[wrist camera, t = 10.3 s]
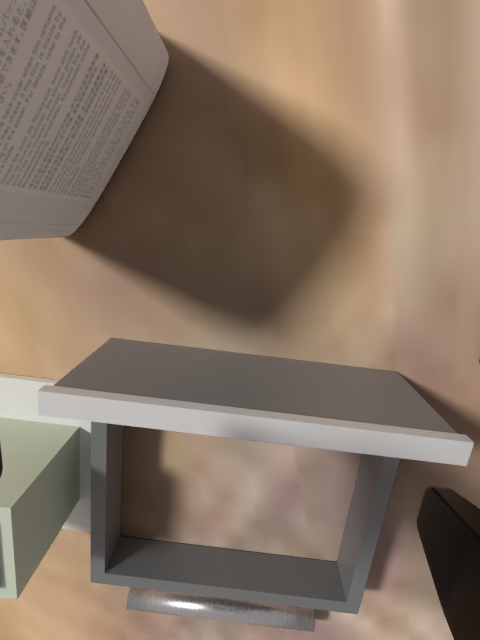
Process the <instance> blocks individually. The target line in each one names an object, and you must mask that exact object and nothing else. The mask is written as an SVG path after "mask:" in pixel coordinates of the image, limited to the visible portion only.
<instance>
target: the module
mask: <svg viewBox="0 0 480 640" xmlns="http://www.w3.org/2000/svg"><path fill="white" fill-rule="evenodd" d="M0 443H1V453H2V463H3V470H2V475H1V477H0V597H1V598H9V599H18V597H19V596H20V594H21V592H22V591H23V589H24V588H25V586H26V584H27V583H28V581H29V580H30V578H31V576H32V575H33V573H34V572H35V570H36V568H37V567H38V565H39V564H40V562H41V560H42V559H43V557H44V556H45V554H46V552H47V551H48V549H49V547H50V546H51V544H52V543H53V541H54V539H55V538H56V536H57V535H58V533H59V531H60V530H61V528H62V527H63V525H64V523H65V522H66V520H67V519H68V517H69V515H70V514H71V512H72V511H73V509H74V507H75V506H76V504H77V503H78V501H79V499H80V444H79V427H78V426H70V425H61V424H53V423H45V422H36V421H28V420H20V419H11V418H3V417H0Z"/></svg>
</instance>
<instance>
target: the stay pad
mask: <svg viewBox="0 0 480 640" xmlns="http://www.w3.org/2000/svg"><path fill="white" fill-rule="evenodd" d="M58 381H59V380H52V379H43V378H35V377H26V376H18V375H10V374H1V373H0V417H3V418H11V419H20V420H28V421H36V422H45V423H53V424H61V425H70V426H78V427H79V444H80V499H79V501H78V503H77V504H76V506H75V507H74V509H73V511H72V512H71V514H70V515H69V517H68V519H67V520H66V522H65V523H64V525H63V527H62V528H61V529H70V530H78V531H86V532H91V421H84V420H76V419H67V418H59V417H50V416H42V415H39V413H38V390H39V389H40V388H42V387H43V386H44V385H52V386H53V385H55V384H56V383H57V382H58Z"/></svg>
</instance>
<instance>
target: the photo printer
mask: <svg viewBox="0 0 480 640" xmlns="http://www.w3.org/2000/svg"><path fill="white" fill-rule="evenodd" d="M168 61H169V55H168V52H167V50H166V48H165V46H164V43H163V41H162V39H161V37H160V35H159V33H158V31H157V29H156V27H155V25H154V23H153V21H152V19H151V17H150V14H149V12H148V10H147V8H146V6H145V4H144V2H143V0H0V240H13V239H32V238H54V237H66V236H70V235H71V234H72V233H74V232H75V231H76V230H77V229H78V228H79V226H80V225H81V224H82V223H83V222H84V220H85V219H86V218H87V216H88V215H89V213H90V212H91V210H92V209H93V207H94V205H95V203H96V202H97V200H98V199H99V197H100V195H101V194H102V192H103V190H104V189H105V187H106V185H107V183H108V182H109V180H110V178H111V177H112V175H113V173H114V171H115V169H116V168H117V166H118V164H119V162H120V160H121V159H122V157H123V155H124V153H125V152H126V150H127V148H128V146H129V145H130V143H131V141H132V139H133V137H134V135H135V134H136V132H137V130H138V128H139V127H140V125H141V122H142V121H143V119H144V118H145V116H146V114H147V112H148V110H149V108H150V106H151V104H152V102H153V100H154V98H155V96H156V94H157V92H158V90H159V87H160V85H161V83H162V80H163V78H164V75H165V72H166V69H167V66H168Z"/></svg>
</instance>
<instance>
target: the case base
mask: <svg viewBox="0 0 480 640" xmlns="http://www.w3.org/2000/svg"><path fill="white" fill-rule="evenodd" d="M122 456H123V425H117V424H109V423H101V422H92V421H91V582H93V583H102V584H110V585H118V586H127V587H135V588H143V589H152V590H160V591H168V592H177V593H185V594H193V595H202V596H210V597H218V598H227V599H235V600H244V601H252V602H260V603H269V604H277V605H285V606H294V607H302V608H310V609H319V610H327V611H335V612H344V613H352V614H358V611H359V608H360V604H361V600H362V597H363V593H364V590H365V586H366V582H367V579H368V575H369V571H370V568H371V564H372V560H373V557H374V553H375V550H376V546H377V542H378V539H379V535H380V531H381V528H382V524H383V520H384V517H385V513H386V510H387V506H388V502H389V499H390V495H391V491H392V488H393V484H394V480H395V477H396V473H397V470H398V466H399V462H400V459H401V458H394V457H386V456H378V455H369V454H363V455H362V459H361V463H360V467H359V471H358V476H357V480H356V484H355V488H354V492H353V496H352V501H351V505H350V509H349V513H348V517H347V521H346V525H345V530H344V534H343V538H342V542H341V546H340V550H339V555H338V559H337V562H332V561H323V560H315V559H307V558H298V557H290V556H282V555H273V554H265V553H257V552H248V551H240V550H231V549H223V548H215V547H206V546H198V545H190V544H181V543H173V542H165V541H156V540H148V539H139V538H131V537H123V536H120V525H121V490H122Z"/></svg>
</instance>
